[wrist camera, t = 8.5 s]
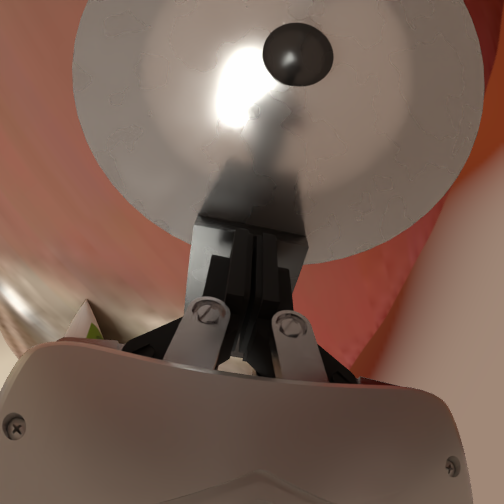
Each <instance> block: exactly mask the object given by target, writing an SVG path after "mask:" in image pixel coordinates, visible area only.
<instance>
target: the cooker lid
mask: <svg viewBox="0 0 504 504" xmlns="http://www.w3.org/2000/svg"><path fill="white" fill-rule="evenodd" d="M72 73H73V93H74V98H75V104H76V109H77V114H78V118H79V121H80V124H81V127H82V130H83V132H84V135H85V138H86V141H87V143H88V145H89V147H90V149H91V151H92V153H93V155H94V157H95V159H96V160H97V162H98V164H99V166H100V167H101V168H102V170H103V171H104V173H105V174H106V176H107V177H108V179H109V180H110V181H111V183H112V184H113V185H114V186H115V188H116V189H117V190H118V191H119V192H120V193H121V194H122V195H123V196H124V198H125V199H126V200H127V201H128V202H129V203H130V204H131V205H132V206H133V207H135V208H136V209H137V210H138V211H139V212H140V213H142V214H143V215H144V216H145V217H146V218H147V219H149V220H150V221H151V222H153V223H154V224H156V225H157V226H159V227H160V228H162V229H163V230H165V231H166V232H168V233H169V234H171V235H173V236H175V237H177V238H179V239H181V240H183V241H185V242H187V243H189V244H191V251H190V260H189V269H188V278H187V288H186V298H185V309H184V314H185V312H186V309H187V307H188V305H189V304H190V303H191V301H193V300H194V299H196V298H199V297H202V296H203V291H204V287H205V282H206V278H207V274H208V269H209V265H210V261H211V257H212V255H218V256H223V257H228V258H230V253H231V248H232V243H233V238H234V234H235V229H236V228H242V229H247V230H249V234H253V248H254V244H255V240H256V236H257V235H260V236H261V235H262V233H267V234H272V235H276V245H277V261H278V267H282V268H287V269H289V272H290V281H291V291H292V293H293V290H294V287H295V285H296V282H297V279H298V277H299V274H300V271H301V268H302V266H303V265H305V264H315V263H323V262H327V261H332V260H337V259H341V258H346V257H349V256H352V255H355V254H358V253H361V252H363V251H366V250H369V249H371V248H373V247H375V246H377V245H380V244H382V243H384V242H386V241H388V240H390V239H392V238H393V237H395V236H396V235H398V234H400V233H401V232H403V231H404V230H406V229H407V228H409V227H410V226H412V225H413V224H414V223H415V222H417V221H418V220H419V219H420V218H422V217H423V216H424V215H425V214H426V213H428V212H429V211H430V210H431V209H432V208H433V206H434V205H435V204H436V203H437V202H438V201H439V200H440V199H441V198H442V197H443V196H444V195H445V193H446V192H447V191H448V189H449V188H450V187H451V185H452V184H453V182H454V181H455V180H456V178H457V177H458V175H459V173H460V172H461V170H462V168H463V166H464V164H465V162H466V161H467V158H468V157H469V155H470V152H471V149H472V147H473V144H474V141H475V139H476V136H477V133H478V129H479V124H480V120H481V116H482V110H483V100H484V67H483V60H482V54H481V49H480V44H479V40H478V36H477V33H476V30H475V27H474V24H473V21H472V19H471V16H470V14H469V12H468V10H467V8H466V6H465V4H464V2H463V0H88V2H87V5H86V7H85V9H84V12H83V14H82V17H81V20H80V24H79V28H78V31H77V35H76V39H75V46H74V54H73V64H72ZM252 252H253V249H252ZM239 336H240V334H239ZM238 350H239V338H238V341H237V345H236V348H235V351H234V352H233V351H231V355H230V356H233V357H239V358H243V353H240V352H238Z"/></svg>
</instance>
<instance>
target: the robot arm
mask: <svg viewBox="0 0 504 504" xmlns="http://www.w3.org/2000/svg"><path fill="white" fill-rule="evenodd" d="M252 249H253V252H252ZM239 334H240V336H239ZM238 338H239V350H238V352H240V353H243V361H246V362H248V363H249V364H250V365H251V366H252V367H253V369H252V375H244V374H237V373H231V372H224V371H218V366H219V365H220V364H221V363H223V362H225V361H226V360H228V359H230V355H231V351H233V352H234V351H235V348H236V345H237V341H238ZM0 504H473V498H472V490H471V484H470V478H469V473H468V468H467V463H466V458H465V453H464V449H463V446H462V442H461V439H460V435H459V432H458V429H457V426H456V423H455V421H454V418H453V416H452V413H451V411H450V409H449V408H448V406H447V405H446V403H445V402H444V401H443V400H442V399H440V398H439V397H437V396H435V395H434V394H431V393H429V392H426V391H423V390H420V389H415V388H411V387H402V386H397V385H393V384H389V383H384V382H380V381H376V380H372V379H368V378H364V377H360V378H359V379H357V378H355V376H354V375H353V374H352V373H351V372H350V371H349V370H348V369H347V368H346V367H344V366H343V365H342V364H341V363H340V362H338V361H337V360H336V359H335V358H334V357H332V356H331V355H330V354H329V353H328V352H326V351H325V350H324V349H323V348H322V347H320V346H319V345H318V344H317V342H316V339H315V336H314V333H313V330H312V327H311V324H310V322H309V321H308V320H307V318H306V317H305V316H303V315H302V314H300V313H298V312H295V311H293V300H292V291H291V281H290V272H289V269H287V268H282V267H278V261H277V245H276V235H272V234H267V233H262V235H261V236H260V235H257V236H256V240H255V244H254V248H253V234H249V230H247V229H242V228H236V229H235V234H234V238H233V243H232V248H231V253H230V258H228V257H223V256H218V255H212V257H211V261H210V265H209V269H208V274H207V278H206V282H205V287H204V291H203V296H202V297H199V298H196V299H194V300H193V301H191V303H190V304H189V305H188V307H187V309H186V312H185V314H184V316H183V317H181V318H179V319H177V320H174V321H172V322H170V323H168V324H166V325H163V326H161V327H159V328H157V329H154V330H152V331H150V332H147V333H145V334H143V335H141V336H138V337H136V338H134V339H132V340H130V341H128V342H127V343H126V344H120V343H118V340H102V339H89V338H77V337H63V338H61V339H59V340H57V341H56V342H47V343H42V344H38V345H36V346H33V347H32V348H30V349H29V350H27V351H26V352H25V353H24V354H23V355H22V356H21V358H20V359H19V360H18V362H17V363H16V364H15V366H14V367H13V369H12V371H11V372H10V374H9V376H8V377H7V379H6V382H5V383H4V385H3V388H2V389H1V391H0Z"/></svg>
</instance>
